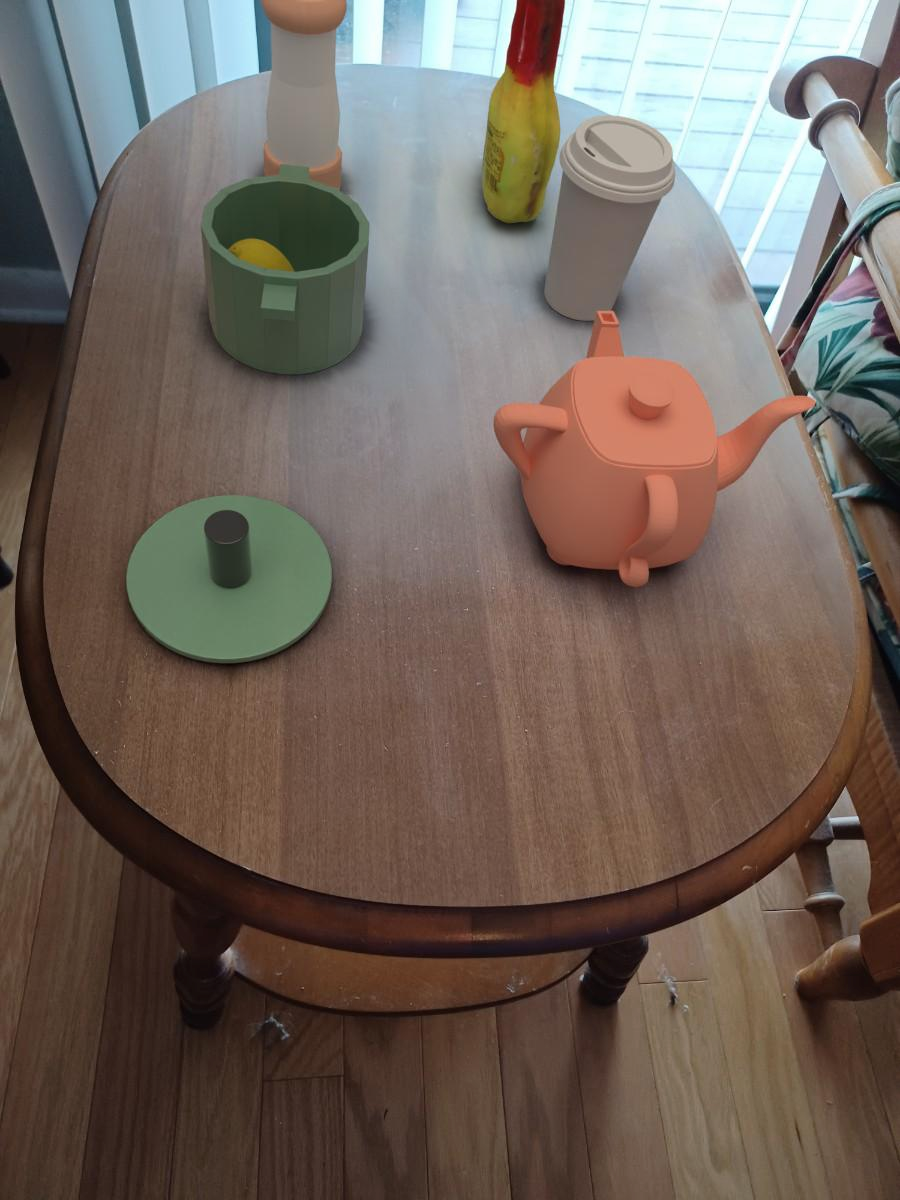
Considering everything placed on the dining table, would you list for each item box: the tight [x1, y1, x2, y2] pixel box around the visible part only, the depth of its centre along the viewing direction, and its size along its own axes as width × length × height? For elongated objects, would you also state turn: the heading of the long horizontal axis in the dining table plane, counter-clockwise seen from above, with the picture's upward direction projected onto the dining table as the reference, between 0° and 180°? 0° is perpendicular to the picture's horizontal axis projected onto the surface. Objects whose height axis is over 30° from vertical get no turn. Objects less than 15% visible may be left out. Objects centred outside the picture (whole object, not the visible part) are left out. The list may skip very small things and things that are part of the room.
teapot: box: [493, 310, 816, 588], centre depth 68 cm, size 16×17×14 cm
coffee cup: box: [543, 115, 676, 322], centre depth 81 cm, size 10×10×15 cm
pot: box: [200, 164, 370, 376], centre depth 77 cm, size 13×18×10 cm
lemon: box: [228, 239, 294, 271], centre depth 76 cm, size 6×6×8 cm
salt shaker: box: [259, 0, 348, 191], centre depth 84 cm, size 7×7×19 cm
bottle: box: [480, 0, 566, 224], centre depth 86 cm, size 12×6×20 cm, turn 6°
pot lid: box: [125, 494, 333, 664], centre depth 63 cm, size 14×14×6 cm
